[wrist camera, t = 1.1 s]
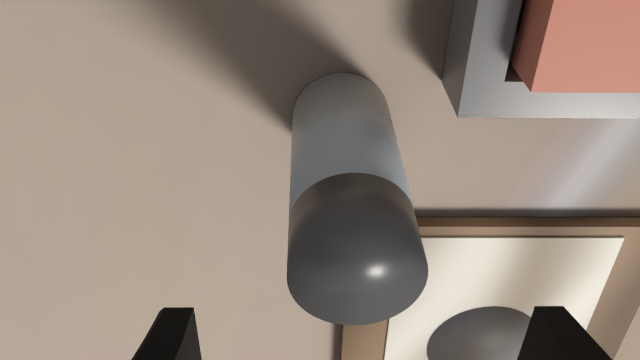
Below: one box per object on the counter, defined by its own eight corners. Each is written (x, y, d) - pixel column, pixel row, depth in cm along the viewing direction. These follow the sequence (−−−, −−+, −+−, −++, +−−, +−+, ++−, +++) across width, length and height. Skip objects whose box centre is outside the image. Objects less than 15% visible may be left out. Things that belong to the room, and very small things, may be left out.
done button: (705, -84, 15) (749, -70, 14) (649, 66, 17) (681, 93, 16) (545, -87, 15) (572, -72, 13) (511, 65, 17) (530, 92, 16)
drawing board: (669, 217, 23) (679, 229, 23) (575, 419, 31) (580, 431, 31) (348, 216, 23) (350, 228, 22) (336, 421, 31) (337, 434, 30)
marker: (392, 72, 20) (437, 222, 13) (384, 157, 22) (419, 325, 15) (292, 72, 19) (285, 222, 13) (292, 157, 21) (287, 325, 15)
